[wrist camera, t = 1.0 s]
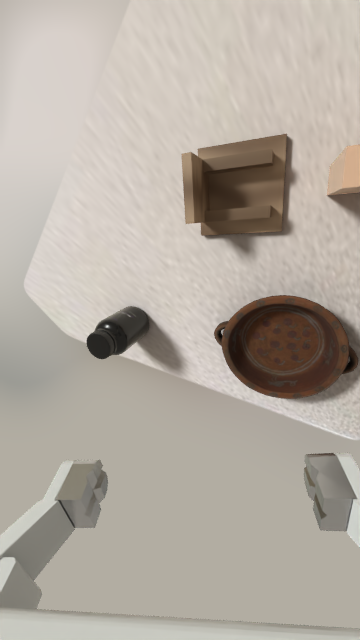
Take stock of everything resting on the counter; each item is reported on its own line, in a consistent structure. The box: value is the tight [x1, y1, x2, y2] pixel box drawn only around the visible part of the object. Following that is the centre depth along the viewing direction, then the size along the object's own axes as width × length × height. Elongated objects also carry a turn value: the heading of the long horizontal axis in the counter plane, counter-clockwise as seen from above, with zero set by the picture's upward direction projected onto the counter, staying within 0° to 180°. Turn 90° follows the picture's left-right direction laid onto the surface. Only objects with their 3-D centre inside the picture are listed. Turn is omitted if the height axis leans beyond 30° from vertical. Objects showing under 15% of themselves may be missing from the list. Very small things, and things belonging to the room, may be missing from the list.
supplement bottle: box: [87, 306, 149, 359], centre depth 50 cm, size 7×7×12 cm
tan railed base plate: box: [182, 134, 287, 235], centre depth 36 cm, size 12×12×9 cm
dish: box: [214, 295, 358, 399], centre depth 44 cm, size 17×22×5 cm
